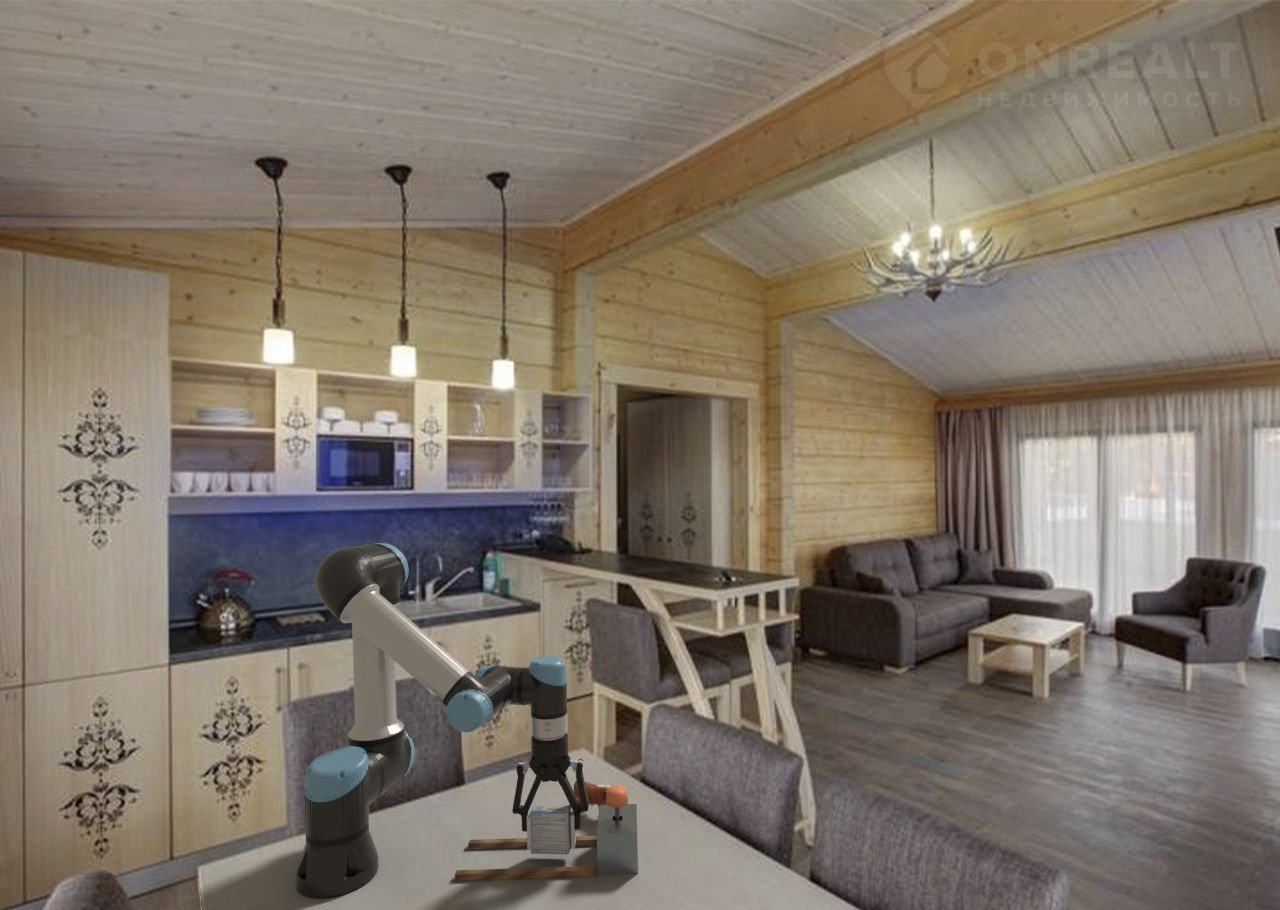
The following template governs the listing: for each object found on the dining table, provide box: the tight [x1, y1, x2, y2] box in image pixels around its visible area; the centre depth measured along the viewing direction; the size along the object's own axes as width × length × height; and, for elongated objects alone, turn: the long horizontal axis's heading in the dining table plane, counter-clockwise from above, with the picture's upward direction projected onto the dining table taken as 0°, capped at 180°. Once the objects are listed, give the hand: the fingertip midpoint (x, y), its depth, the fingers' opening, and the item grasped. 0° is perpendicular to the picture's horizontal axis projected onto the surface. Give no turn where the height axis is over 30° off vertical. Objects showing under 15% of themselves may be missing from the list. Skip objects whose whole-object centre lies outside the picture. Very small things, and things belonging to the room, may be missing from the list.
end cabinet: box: [596, 803, 639, 876], centre depth 144 cm, size 8×12×8 cm, turn 1°
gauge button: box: [606, 785, 629, 821], centre depth 145 cm, size 4×4×6 cm
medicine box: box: [530, 801, 572, 856], centre depth 144 cm, size 8×4×9 cm, turn 84°
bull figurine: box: [573, 780, 612, 818], centre depth 162 cm, size 4×13×8 cm, turn 53°
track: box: [454, 835, 599, 882], centre depth 144 cm, size 28×13×1 cm, turn 91°
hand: (551, 845), depth 144 cm, fingers closed on medicine box, 8 cm apart
